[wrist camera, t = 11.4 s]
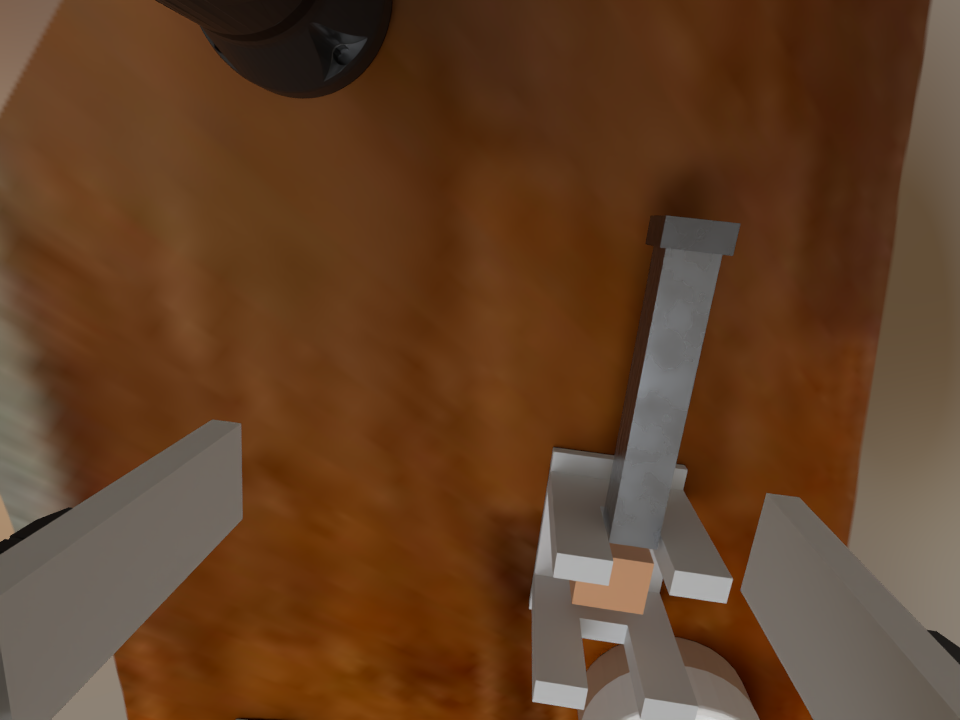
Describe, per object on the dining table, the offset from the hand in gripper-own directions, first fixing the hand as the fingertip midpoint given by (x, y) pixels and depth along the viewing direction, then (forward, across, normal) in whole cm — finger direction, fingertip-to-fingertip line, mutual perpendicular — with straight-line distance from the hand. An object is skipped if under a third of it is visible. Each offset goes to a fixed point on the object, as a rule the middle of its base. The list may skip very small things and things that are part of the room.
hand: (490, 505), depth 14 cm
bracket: (+35, +11, -22) cm, 42 cm away
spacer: (+31, +11, -19) cm, 38 cm away
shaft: (+29, +11, -4) cm, 31 cm away
